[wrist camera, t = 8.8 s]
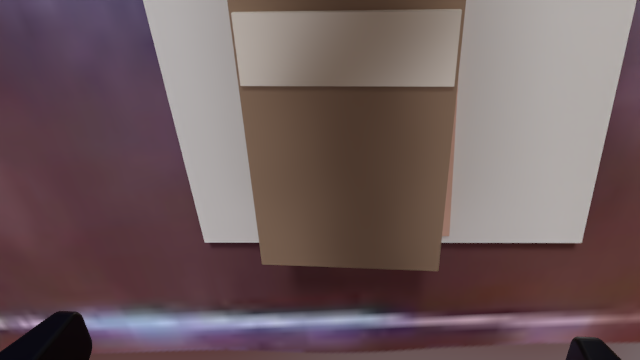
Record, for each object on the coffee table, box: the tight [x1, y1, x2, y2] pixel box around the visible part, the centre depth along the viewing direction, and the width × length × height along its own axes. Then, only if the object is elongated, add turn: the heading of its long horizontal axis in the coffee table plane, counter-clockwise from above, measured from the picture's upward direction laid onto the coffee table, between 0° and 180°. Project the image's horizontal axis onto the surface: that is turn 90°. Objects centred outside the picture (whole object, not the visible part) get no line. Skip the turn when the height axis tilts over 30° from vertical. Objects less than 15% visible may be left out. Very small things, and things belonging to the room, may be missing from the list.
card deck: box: [227, 0, 466, 271], centre depth 17 cm, size 6×9×3 cm, turn 3°
